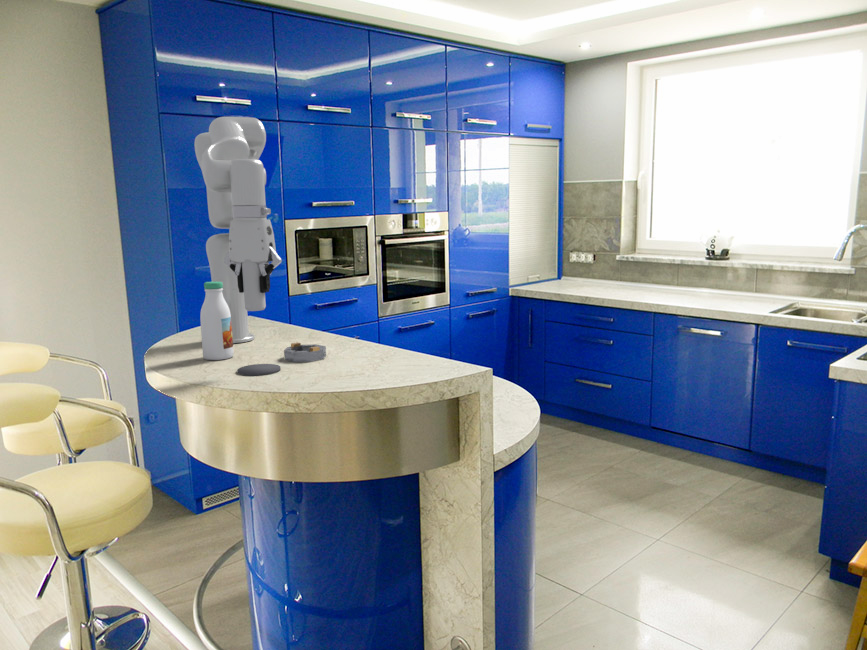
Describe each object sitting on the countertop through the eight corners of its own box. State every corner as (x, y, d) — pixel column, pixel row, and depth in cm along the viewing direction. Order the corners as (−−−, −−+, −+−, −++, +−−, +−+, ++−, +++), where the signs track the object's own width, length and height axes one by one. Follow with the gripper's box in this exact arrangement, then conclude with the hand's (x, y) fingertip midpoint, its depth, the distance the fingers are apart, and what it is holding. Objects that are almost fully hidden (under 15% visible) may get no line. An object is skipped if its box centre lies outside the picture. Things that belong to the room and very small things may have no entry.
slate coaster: (229, 371, 164) (229, 368, 164) (266, 364, 171) (266, 361, 171) (251, 377, 157) (251, 375, 157) (288, 370, 164) (288, 367, 164)
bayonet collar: (278, 358, 178) (277, 345, 177) (310, 352, 185) (309, 340, 184) (300, 363, 171) (299, 350, 170) (332, 357, 178) (332, 344, 177)
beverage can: (245, 311, 159) (242, 260, 157) (244, 309, 163) (241, 258, 161) (266, 310, 160) (263, 259, 158) (265, 307, 165) (262, 258, 163)
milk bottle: (214, 362, 175) (209, 284, 171) (197, 358, 179) (191, 282, 176) (239, 356, 181) (234, 281, 177) (222, 353, 185) (216, 280, 182)
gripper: (290, 213, 159) (294, 290, 162) (225, 214, 164) (230, 289, 167) (275, 213, 152) (279, 294, 155) (207, 214, 157) (213, 293, 160)
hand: (254, 291), depth 161 cm, fingers closed on beverage can, 4 cm apart
